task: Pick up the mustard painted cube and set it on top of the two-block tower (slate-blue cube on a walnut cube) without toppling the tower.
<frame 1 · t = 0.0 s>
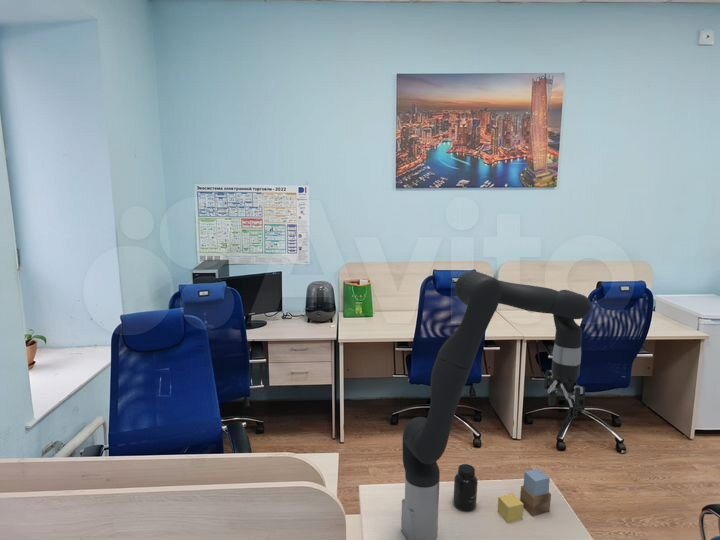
hand: (561, 411, 147), 29 cm above the table, fingers open, 8 cm apart
tower base: (534, 507, 150), on the table, touching tower mid
tower mid: (535, 490, 148), point 6 cm above the table, touching tower base
top block: (509, 515, 146), on the table
supplement bottle: (464, 504, 151), on the table
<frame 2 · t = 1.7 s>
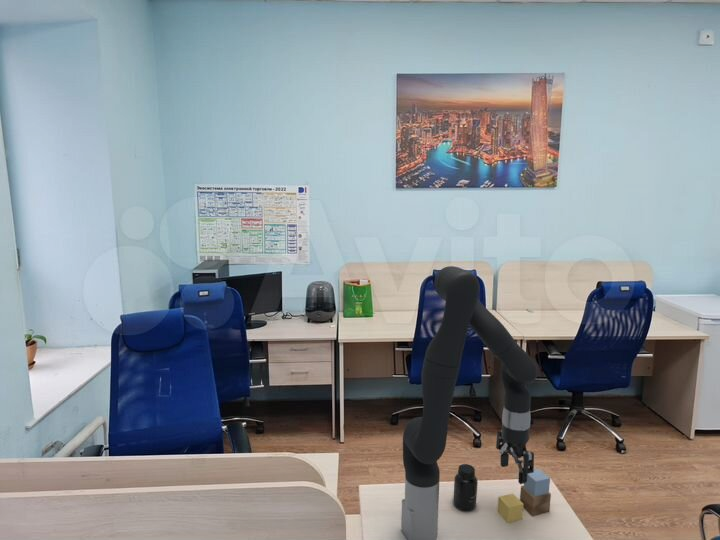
hand: (513, 474, 144), 13 cm above the table, fingers open, 8 cm apart
nothing on the table moved.
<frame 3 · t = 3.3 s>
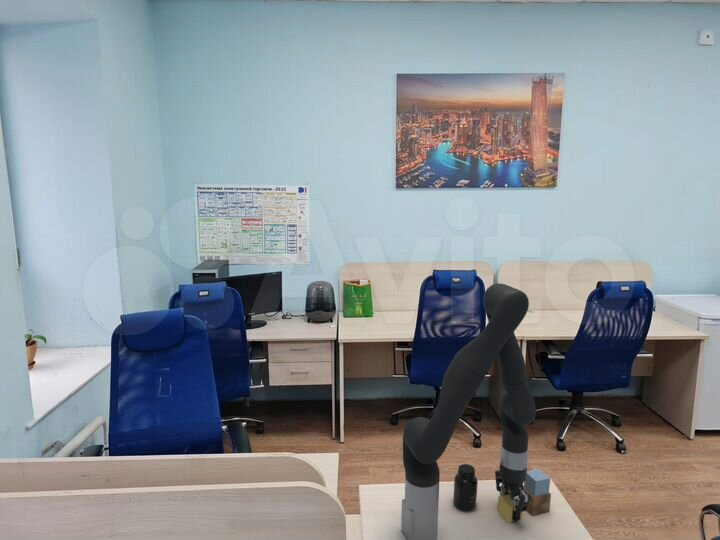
hand: (509, 513, 146), 0 cm above the table, fingers closed on top block, 5 cm apart
top block: (509, 515, 146), on the table, touching gripper
everything else where it was.
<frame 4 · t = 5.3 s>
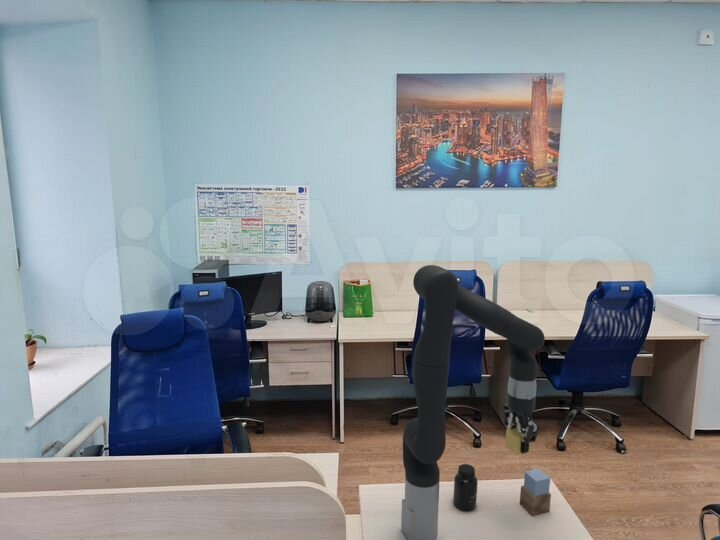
hand: (518, 447, 142), 22 cm above the table, fingers closed on top block, 5 cm apart
top block: (517, 448, 143), point 21 cm above the table, touching gripper
everything else where it was.
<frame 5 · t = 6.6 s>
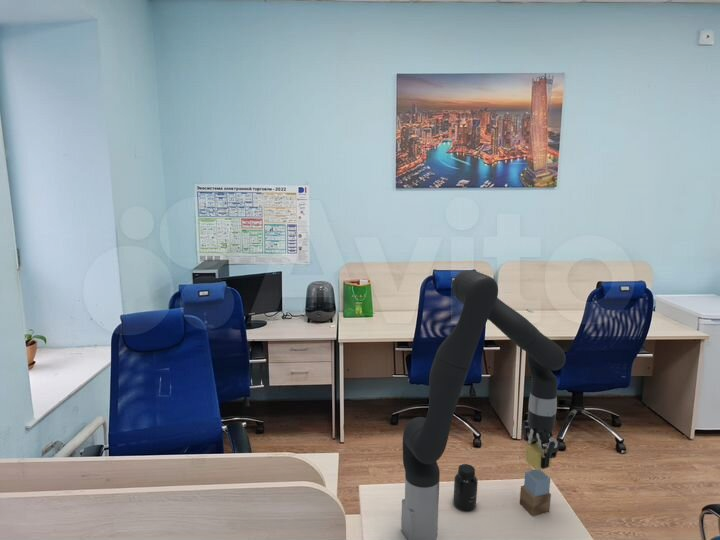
hand: (538, 462, 147), 15 cm above the table, fingers closed on top block, 5 cm apart
top block: (538, 463, 147), point 14 cm above the table, touching gripper
everything else where it was.
when the fingers open (12 cm above the table, at t = 7.6 s): top block stays where it is, resting on tower mid.
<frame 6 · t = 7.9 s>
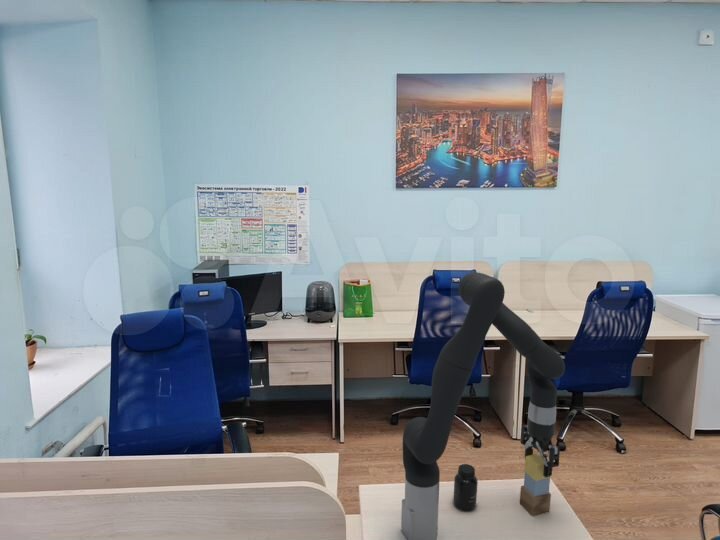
hand: (537, 468, 147), 13 cm above the table, fingers open, 8 cm apart
tower mid: (536, 489, 148), point 6 cm above the table, touching top block, tower base
top block: (536, 474, 148), point 11 cm above the table, touching tower mid
everything else where it was.
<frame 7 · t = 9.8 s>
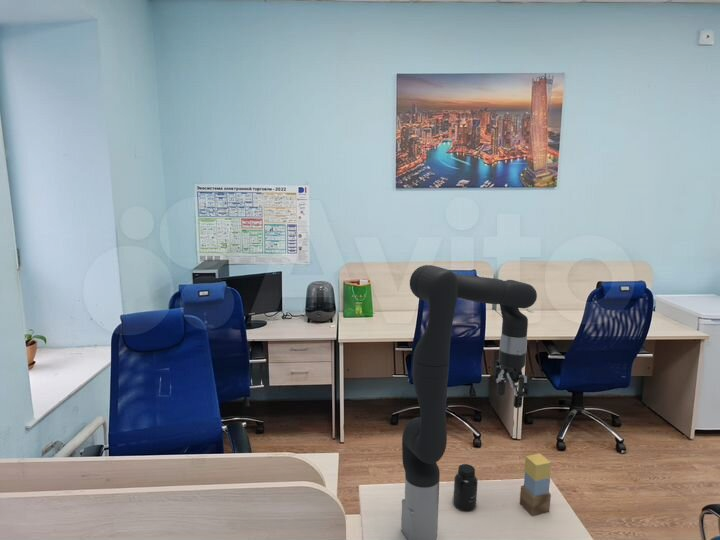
hand: (508, 400, 149), 32 cm above the table, fingers open, 8 cm apart
nothing on the table moved.
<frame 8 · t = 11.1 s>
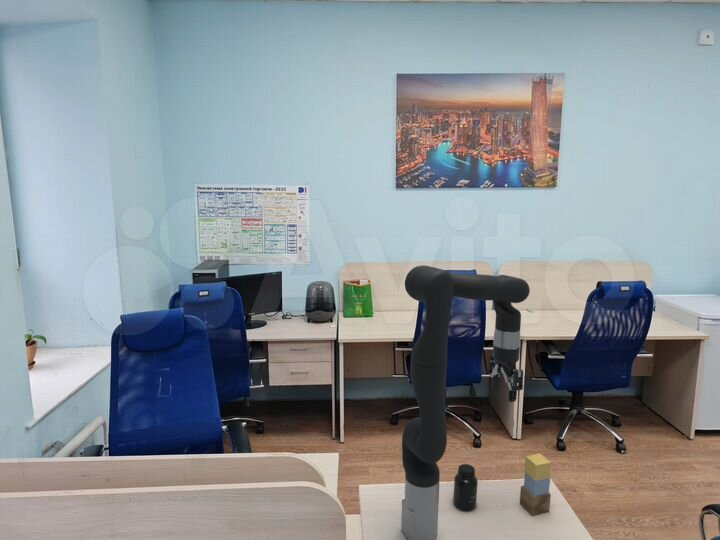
hand: (503, 395, 149), 33 cm above the table, fingers open, 8 cm apart
nothing on the table moved.
at the end: top block 0.1 cm off-centre on the tower base, point 11.0 cm above the tower base's base; tower mid 0.2 cm off-centre on the tower base, point 6.0 cm above the tower base's base; top block tilted 0° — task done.
